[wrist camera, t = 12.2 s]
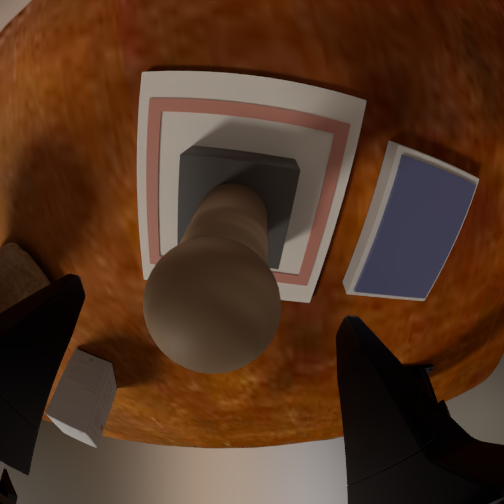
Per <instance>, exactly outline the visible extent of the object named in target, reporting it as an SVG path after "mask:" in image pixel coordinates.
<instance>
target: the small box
mask: <svg viewBox="0 0 504 504" xmlns="http://www.w3.org/2000/svg"><path fill="white" fill-rule="evenodd" d="M116 391H117V386H116V381H115V376H114V371H113V366H112V363H111V362H108V361H105V360H103V359H100V358H98V357H95V356H93V355H90V354H88V353H86V352H83V351H81V350H79V349H75V350H74V352H73V354H72V356H71V358H70V360H69V362H68V364H67V366H66V368H65V370H64V373H63V375H62V377H61V379H60V381H59V383H58V385H57V388H56V390H55V392H54V394H53V397H52V399H51V401H50V404H49V406H48V408H47V411H46V415H47V416H48V417H49V418H50V419H51V420H52V421H53V422H54V423H55V424H56V425H57V426H58V427H59V428H60V429H61V431H62V432H63V433H65V434H68V435H69V436H71V437H73V438H75V439H78V440H80V441H82V442H84V443H86V444H88V445H91V446H93V447H96V448H98V447H99V444H100V440H101V437H102V434H103V431H104V427H105V424H106V421H107V418H108V415H109V412H110V409H111V406H112V403H113V400H114V397H115V394H116Z"/></svg>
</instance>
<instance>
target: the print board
mask: <svg viewBox="0 0 504 504" xmlns="http://www.w3.org/2000/svg"><path fill="white" fill-rule="evenodd" d="M366 101H367V100H364V99H360V98H357V97H354V96H350V95H347V94H343V93H340V92H336V91H332V90H328V89H324V88H320V87H316V86H311V85H307V84H302V83H297V82H292V81H286V80H280V79H274V78H268V77H261V76H253V75H244V74H234V73H222V72H205V71H152V72H142V78H141V88H140V99H139V113H138V134H137V197H138V219H139V234H140V246H141V257H142V266H143V275H144V279H145V280H148V278H149V275H150V273H151V271H152V270H153V268H154V267H155V265H156V264H157V262H158V261H159V260H160V259H161V258H162V257H163V256H164V255H165V254H166V253H167V252H168V251H169V250H171V249H172V248H174V247H175V246H177V245H178V243H177V232H178V185H179V163H180V154H181V153H183V152H184V151H185V150H187V149H188V148H189V147H191V146H203V147H214V148H223V149H232V150H240V151H247V152H254V153H261V154H268V155H274V156H280V157H286V158H292V159H295V160H296V162H297V164H298V166H299V168H300V175H299V180H298V185H297V189H296V194H295V199H294V203H293V208H292V213H291V217H290V222H289V226H288V230H287V235H286V239H285V244H284V248H283V252H282V256H281V261H280V265H279V269H272V268H270V269H271V271H272V273H273V275H274V277H275V279H276V282H277V285H278V287H279V292H280V298H281V300H288V301H297V302H306V303H310V300H311V297H312V295H313V292H314V289H315V286H316V283H317V280H318V278H319V275H320V272H321V269H322V266H323V263H324V260H325V257H326V254H327V251H328V247H329V244H330V241H331V238H332V235H333V231H334V228H335V225H336V222H337V218H338V215H339V211H340V208H341V204H342V201H343V197H344V194H345V190H346V186H347V183H348V179H349V175H350V171H351V167H352V163H353V159H354V155H355V151H356V147H357V143H358V139H359V134H360V130H361V125H362V121H363V116H364V111H365V106H366Z"/></svg>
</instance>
